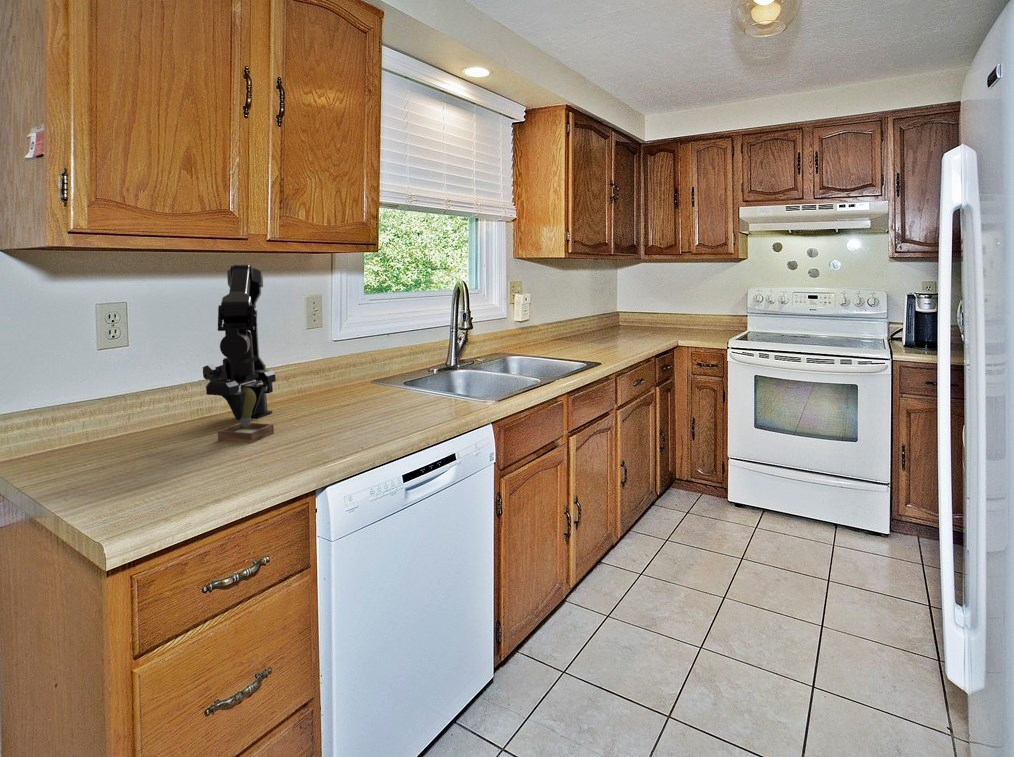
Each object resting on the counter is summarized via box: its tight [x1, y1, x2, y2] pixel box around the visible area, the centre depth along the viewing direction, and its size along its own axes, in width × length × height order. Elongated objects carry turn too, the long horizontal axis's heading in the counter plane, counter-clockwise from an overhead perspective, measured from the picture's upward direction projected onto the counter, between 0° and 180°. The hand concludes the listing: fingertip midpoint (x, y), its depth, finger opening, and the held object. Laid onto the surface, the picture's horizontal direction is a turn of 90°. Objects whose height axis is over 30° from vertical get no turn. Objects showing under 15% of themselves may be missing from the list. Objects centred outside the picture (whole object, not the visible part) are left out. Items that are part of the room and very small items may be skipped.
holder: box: [217, 422, 275, 444], centre depth 154 cm, size 9×9×2 cm
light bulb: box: [239, 387, 256, 428], centre depth 153 cm, size 6×6×10 cm
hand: (245, 417), depth 154 cm, fingers closed on light bulb, 5 cm apart
